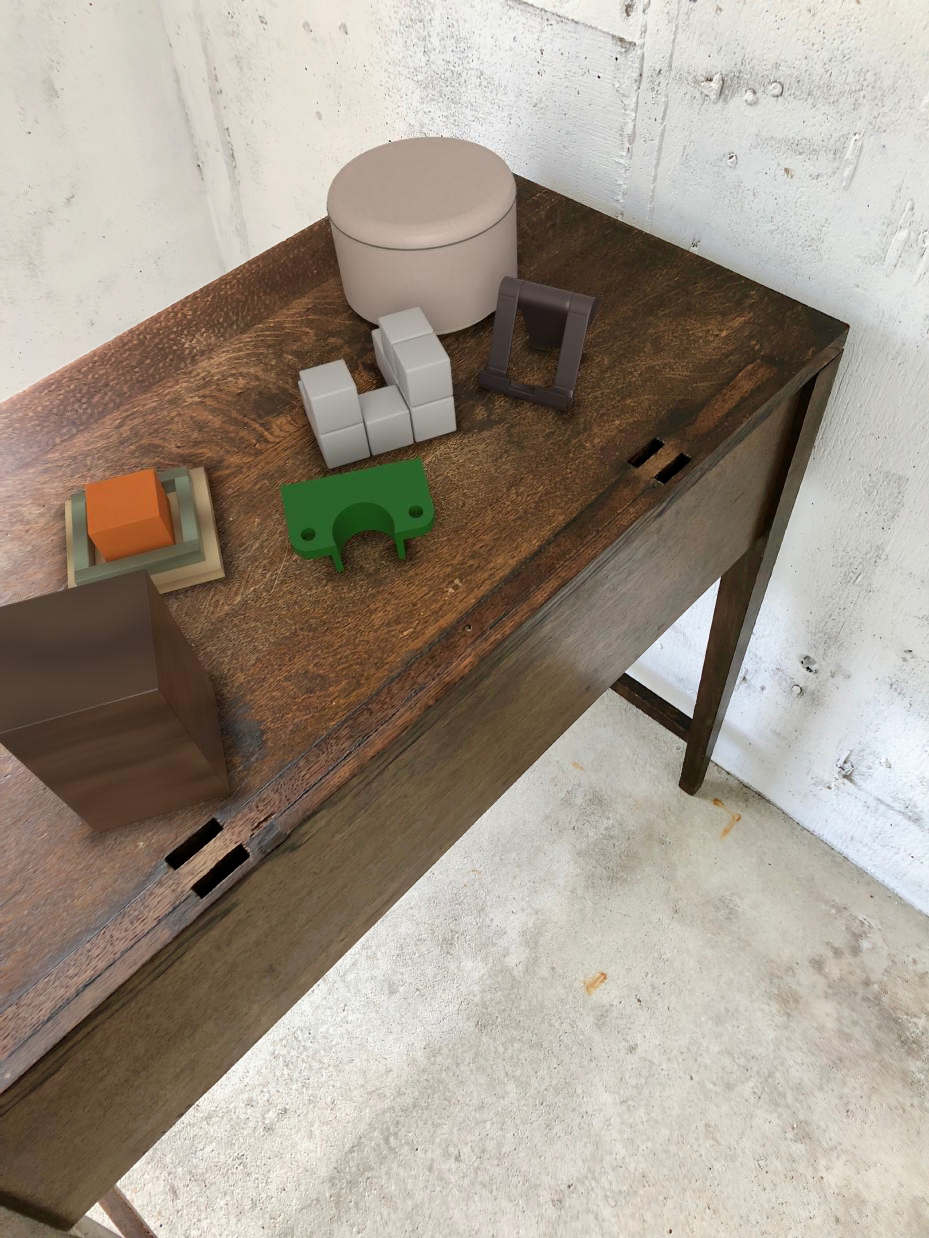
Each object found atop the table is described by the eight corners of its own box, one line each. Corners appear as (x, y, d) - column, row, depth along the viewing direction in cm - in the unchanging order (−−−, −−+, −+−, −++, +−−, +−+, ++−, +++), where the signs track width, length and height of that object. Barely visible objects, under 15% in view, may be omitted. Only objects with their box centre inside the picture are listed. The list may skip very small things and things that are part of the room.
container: (452, 221, 98) (443, 112, 88) (554, 295, 89) (556, 182, 79) (313, 285, 93) (288, 176, 83) (407, 370, 84) (391, 259, 74)
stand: (230, 794, 59) (158, 688, 48) (97, 833, 58) (-9, 735, 47) (214, 685, 64) (145, 567, 53) (91, 720, 63) (-6, 607, 52)
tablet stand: (477, 391, 81) (472, 314, 74) (513, 341, 85) (511, 263, 78) (564, 417, 79) (567, 339, 72) (598, 364, 82) (604, 285, 76)
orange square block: (176, 548, 71) (159, 515, 68) (108, 566, 70) (87, 533, 67) (169, 501, 74) (153, 467, 71) (104, 518, 73) (84, 484, 70)
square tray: (225, 576, 70) (215, 555, 68) (75, 617, 69) (60, 596, 67) (207, 475, 77) (197, 453, 75) (70, 510, 76) (56, 488, 74)
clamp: (335, 596, 74) (272, 563, 66) (323, 534, 76) (261, 495, 68) (462, 543, 70) (411, 502, 62) (445, 480, 73) (394, 432, 64)
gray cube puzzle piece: (414, 353, 85) (405, 280, 79) (457, 431, 78) (450, 358, 72) (295, 387, 83) (275, 315, 77) (328, 470, 77) (309, 399, 70)
